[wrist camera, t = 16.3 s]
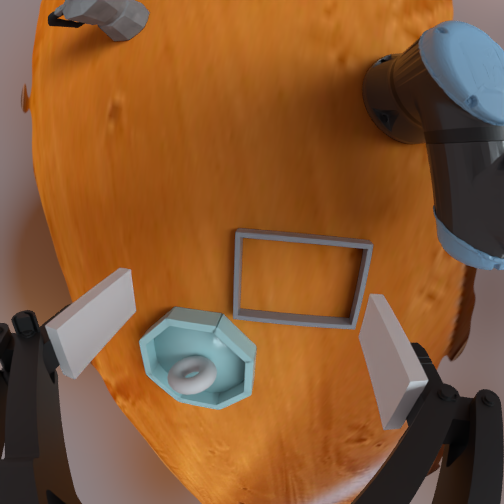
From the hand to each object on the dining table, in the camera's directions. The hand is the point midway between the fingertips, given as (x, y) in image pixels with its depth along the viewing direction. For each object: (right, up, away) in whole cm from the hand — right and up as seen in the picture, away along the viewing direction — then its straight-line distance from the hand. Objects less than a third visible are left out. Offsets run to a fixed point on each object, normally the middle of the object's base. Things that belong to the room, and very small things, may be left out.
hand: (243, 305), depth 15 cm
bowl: (-10, -19, +42) cm, 47 cm away
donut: (-10, -19, +41) cm, 46 cm away
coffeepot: (-24, +46, +22) cm, 56 cm away
